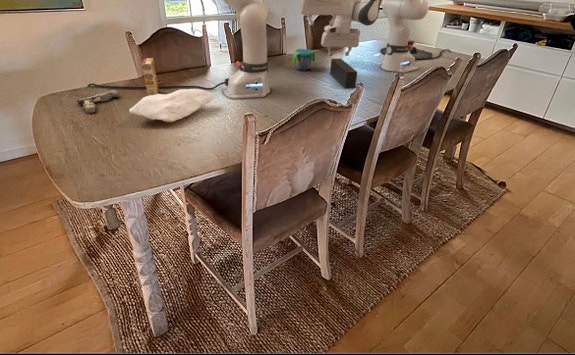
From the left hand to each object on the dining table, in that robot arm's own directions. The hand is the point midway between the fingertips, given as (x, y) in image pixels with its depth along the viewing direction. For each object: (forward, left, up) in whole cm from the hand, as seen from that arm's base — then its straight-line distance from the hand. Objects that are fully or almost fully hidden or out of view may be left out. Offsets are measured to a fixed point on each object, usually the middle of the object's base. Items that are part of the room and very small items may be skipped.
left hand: (321, 25), depth 169 cm
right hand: (+20, +13, -18) cm, 30 cm away
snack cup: (+9, +30, -29) cm, 43 cm away
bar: (+19, +5, -29) cm, 35 cm away
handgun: (-99, +14, -29) cm, 104 cm away
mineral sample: (+95, +39, -29) cm, 107 cm away
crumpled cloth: (-74, -8, -29) cm, 80 cm away
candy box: (-77, +18, -29) cm, 84 cm away
